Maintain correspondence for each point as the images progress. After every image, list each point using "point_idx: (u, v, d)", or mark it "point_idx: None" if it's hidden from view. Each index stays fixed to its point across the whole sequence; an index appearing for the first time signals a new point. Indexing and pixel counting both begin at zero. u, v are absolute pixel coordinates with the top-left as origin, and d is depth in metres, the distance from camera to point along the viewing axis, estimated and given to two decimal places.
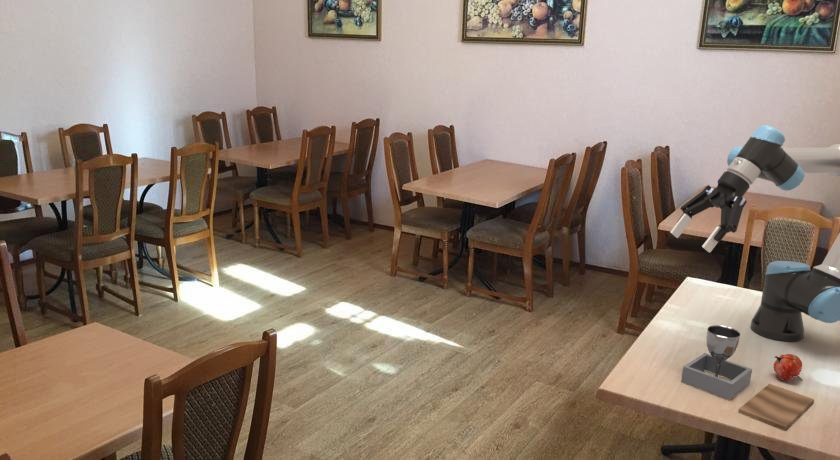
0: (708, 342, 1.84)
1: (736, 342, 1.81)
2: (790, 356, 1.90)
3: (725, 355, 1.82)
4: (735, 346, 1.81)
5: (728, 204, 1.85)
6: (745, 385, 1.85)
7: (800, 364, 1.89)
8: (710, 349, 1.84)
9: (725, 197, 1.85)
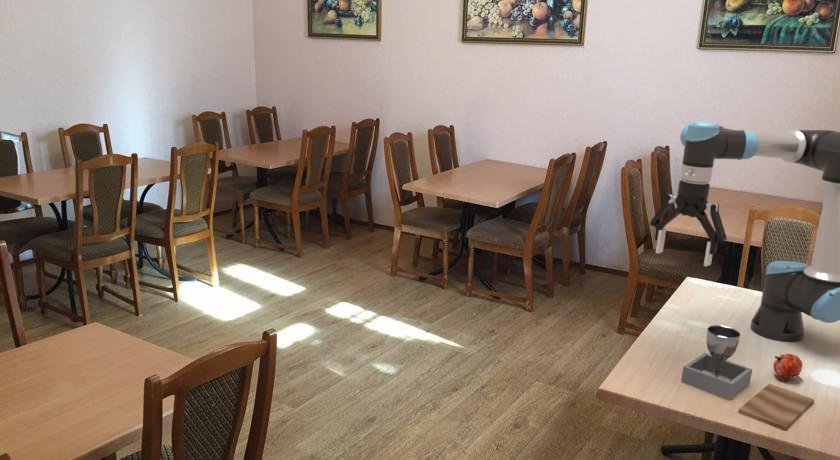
0: (708, 342, 1.84)
1: (736, 342, 1.81)
2: (790, 356, 1.90)
3: (725, 356, 1.82)
4: (735, 346, 1.81)
5: (701, 212, 1.84)
6: (745, 385, 1.85)
7: (800, 364, 1.89)
8: (710, 349, 1.84)
9: (697, 208, 1.83)
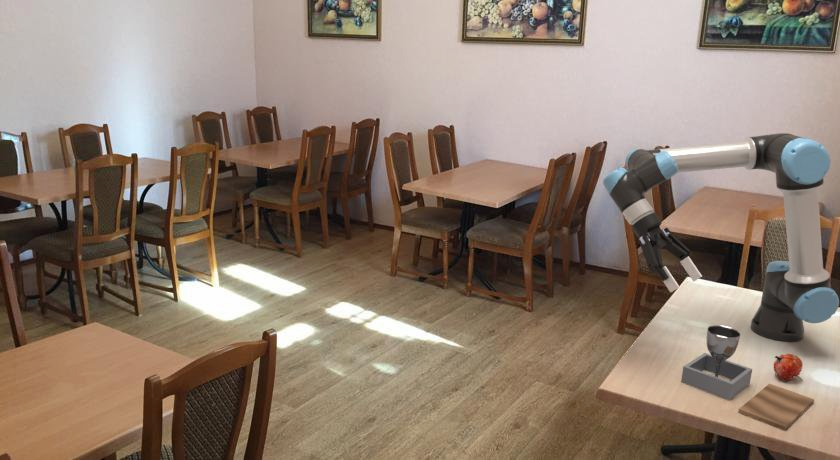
0: (708, 342, 1.84)
1: (736, 342, 1.81)
2: (790, 356, 1.90)
3: (725, 355, 1.82)
4: (735, 346, 1.81)
5: (653, 243, 1.91)
6: (745, 385, 1.85)
7: (800, 364, 1.89)
8: (710, 349, 1.84)
9: None
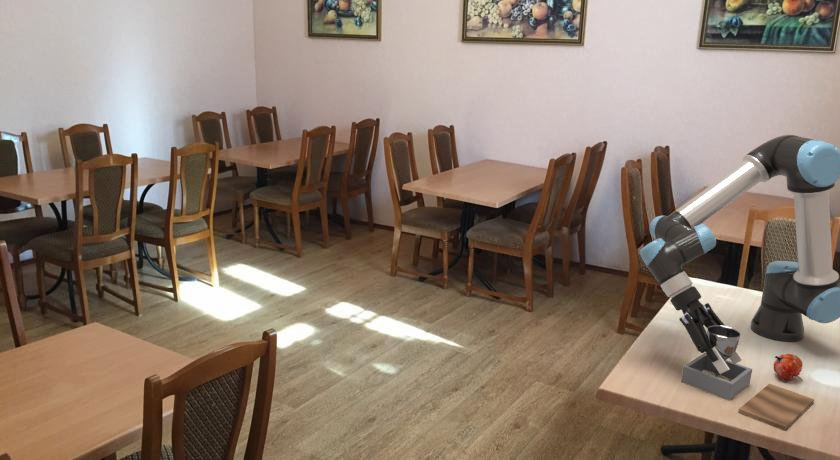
0: None
1: (736, 342, 1.81)
2: (790, 356, 1.90)
3: (725, 355, 1.82)
4: (735, 346, 1.81)
5: (693, 319, 1.86)
6: (745, 385, 1.85)
7: (800, 364, 1.89)
8: None
9: None
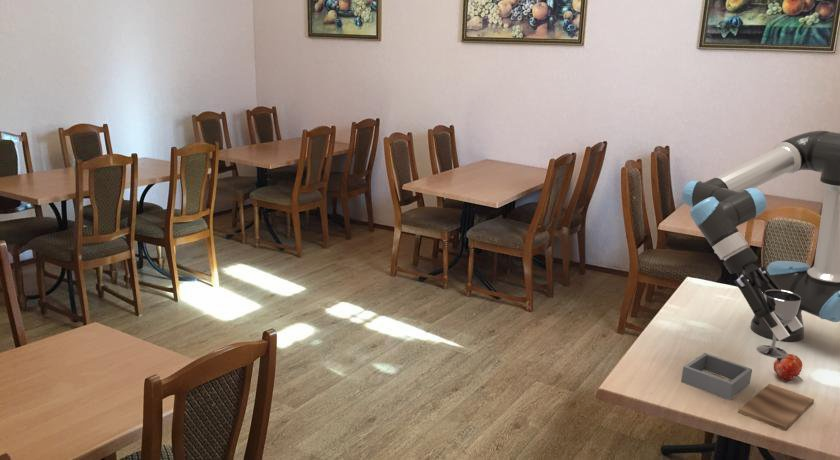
0: None
1: (797, 306, 1.67)
2: (790, 356, 1.90)
3: (785, 321, 1.69)
4: (796, 311, 1.68)
5: (749, 282, 1.73)
6: (745, 385, 1.85)
7: (800, 364, 1.89)
8: None
9: None
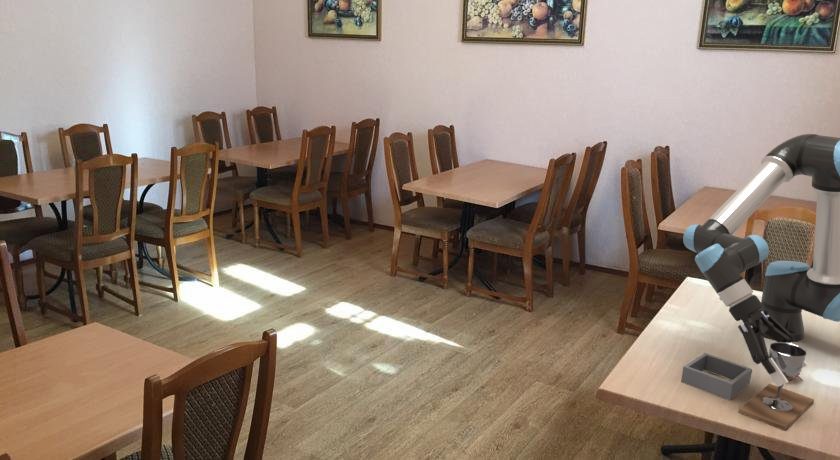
0: None
1: (802, 361, 1.69)
2: None
3: (790, 375, 1.70)
4: (801, 365, 1.69)
5: (755, 330, 1.74)
6: (745, 385, 1.85)
7: None
8: None
9: None
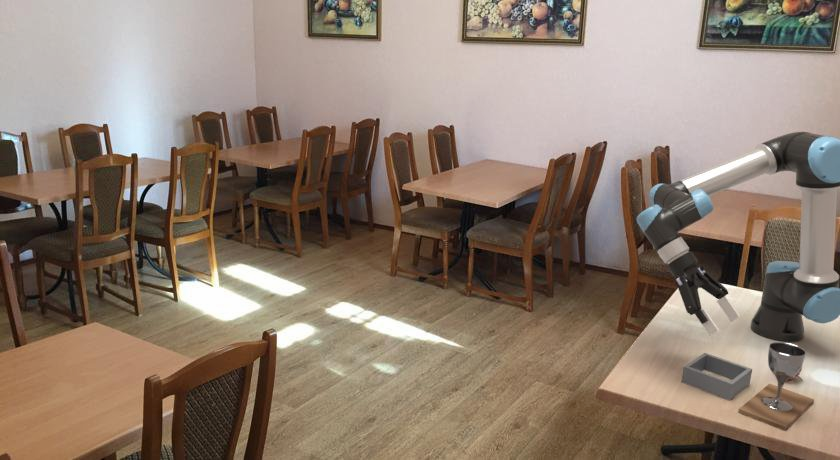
0: (770, 360, 1.72)
1: (801, 361, 1.69)
2: None
3: (790, 375, 1.70)
4: (800, 365, 1.70)
5: (690, 284, 1.86)
6: (745, 385, 1.85)
7: None
8: (773, 368, 1.72)
9: None
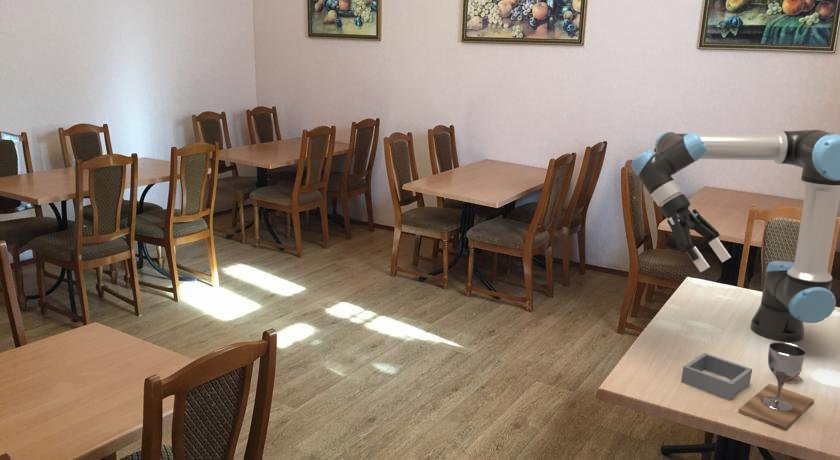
0: (770, 360, 1.72)
1: (801, 361, 1.69)
2: None
3: (790, 375, 1.70)
4: (800, 365, 1.70)
5: (682, 224, 1.92)
6: (745, 385, 1.85)
7: None
8: (773, 368, 1.72)
9: None
